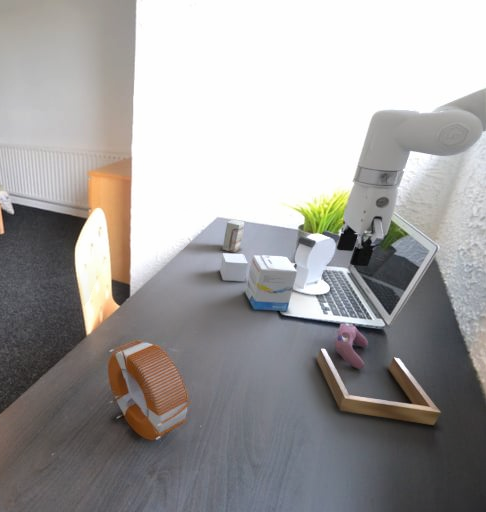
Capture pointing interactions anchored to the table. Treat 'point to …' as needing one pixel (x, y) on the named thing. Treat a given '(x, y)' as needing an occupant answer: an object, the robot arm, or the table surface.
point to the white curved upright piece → (313, 262)
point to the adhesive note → (233, 267)
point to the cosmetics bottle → (233, 235)
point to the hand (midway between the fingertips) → (351, 256)
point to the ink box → (270, 282)
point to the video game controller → (350, 344)
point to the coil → (147, 389)
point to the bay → (416, 412)
